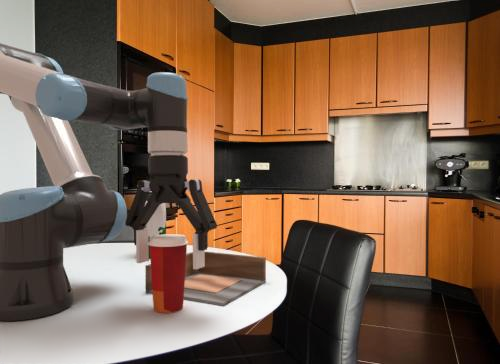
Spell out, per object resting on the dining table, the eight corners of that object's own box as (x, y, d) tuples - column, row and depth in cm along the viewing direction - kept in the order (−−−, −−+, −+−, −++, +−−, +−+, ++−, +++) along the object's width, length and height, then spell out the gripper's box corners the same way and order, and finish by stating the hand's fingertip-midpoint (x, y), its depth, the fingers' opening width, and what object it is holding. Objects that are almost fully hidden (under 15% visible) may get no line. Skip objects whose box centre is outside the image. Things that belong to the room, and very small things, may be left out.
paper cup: (192, 302, 80) (192, 233, 80) (182, 315, 73) (182, 239, 72) (155, 301, 81) (155, 233, 81) (141, 314, 73) (141, 239, 73)
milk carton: (141, 253, 132) (141, 193, 132) (168, 253, 132) (168, 193, 131) (133, 259, 123) (133, 195, 123) (162, 259, 123) (161, 195, 123)
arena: (223, 306, 78) (223, 275, 78) (145, 292, 87) (145, 265, 87) (265, 282, 96) (265, 257, 96) (197, 273, 105) (197, 250, 105)
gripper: (233, 153, 74) (235, 266, 74) (133, 158, 85) (134, 256, 85) (212, 151, 67) (214, 275, 68) (106, 156, 79) (107, 263, 79)
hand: (169, 264), depth 76 cm, fingers open, 13 cm apart
